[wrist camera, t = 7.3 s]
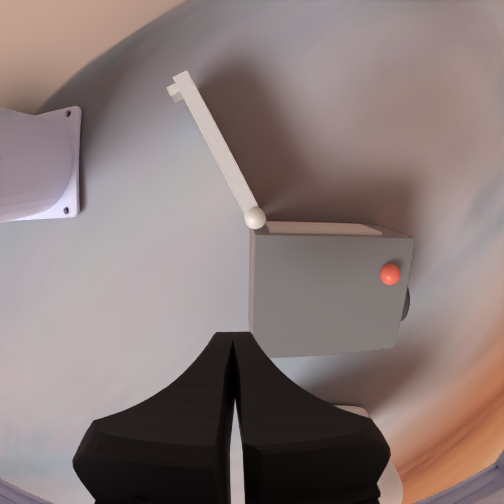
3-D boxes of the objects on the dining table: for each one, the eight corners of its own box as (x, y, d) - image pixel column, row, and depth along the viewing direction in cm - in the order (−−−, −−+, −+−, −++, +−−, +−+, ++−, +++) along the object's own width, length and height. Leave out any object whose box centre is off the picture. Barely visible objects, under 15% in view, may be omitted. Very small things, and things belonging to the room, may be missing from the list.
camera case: (248, 319, 21) (253, 366, 15) (250, 218, 19) (256, 235, 14) (374, 314, 22) (410, 352, 16) (386, 223, 20) (432, 239, 14)
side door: (260, 212, 19) (269, 223, 15) (240, 222, 19) (241, 237, 15) (197, 91, 17) (186, 64, 12) (177, 102, 17) (159, 78, 12)
